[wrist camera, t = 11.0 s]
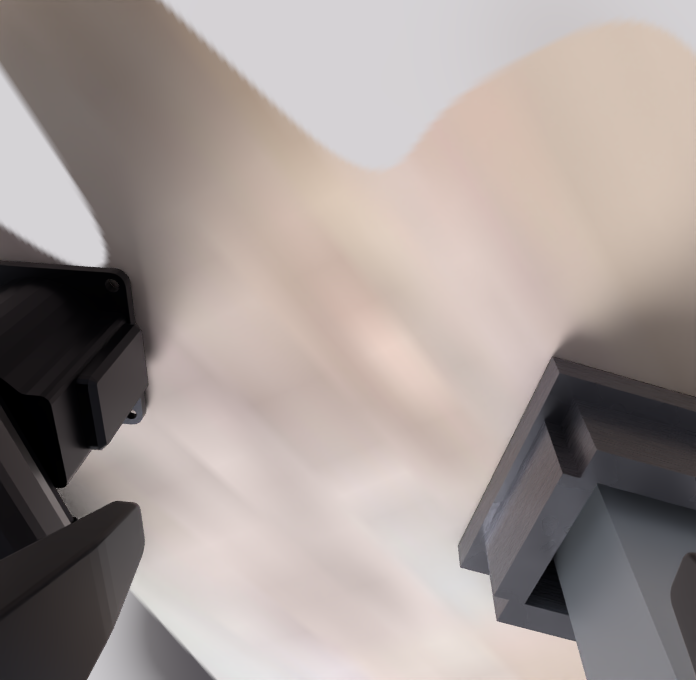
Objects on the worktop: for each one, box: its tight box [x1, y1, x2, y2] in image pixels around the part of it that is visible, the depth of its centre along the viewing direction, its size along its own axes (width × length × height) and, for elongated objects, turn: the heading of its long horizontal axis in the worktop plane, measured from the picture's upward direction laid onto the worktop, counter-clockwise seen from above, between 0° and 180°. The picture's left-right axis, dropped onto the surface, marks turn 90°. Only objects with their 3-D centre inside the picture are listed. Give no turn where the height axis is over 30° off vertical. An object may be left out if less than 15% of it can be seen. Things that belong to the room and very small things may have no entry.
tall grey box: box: [553, 483, 696, 680], centre depth 20 cm, size 4×4×11 cm
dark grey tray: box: [458, 357, 696, 641], centre depth 24 cm, size 9×10×5 cm
